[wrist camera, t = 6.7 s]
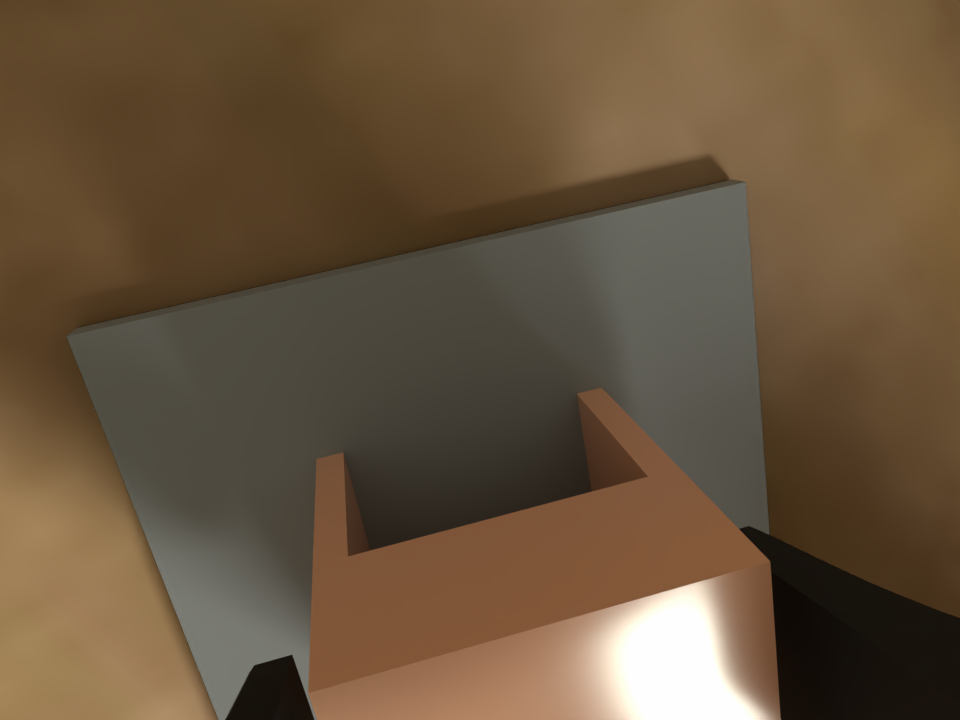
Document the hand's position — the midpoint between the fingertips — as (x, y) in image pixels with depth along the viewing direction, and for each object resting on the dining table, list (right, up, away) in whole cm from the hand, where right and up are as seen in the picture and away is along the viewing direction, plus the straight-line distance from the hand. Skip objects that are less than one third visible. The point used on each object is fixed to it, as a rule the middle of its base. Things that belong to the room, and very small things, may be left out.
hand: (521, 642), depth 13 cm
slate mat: (-1, +1, +3) cm, 3 cm away
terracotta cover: (-1, +1, +3) cm, 3 cm away
